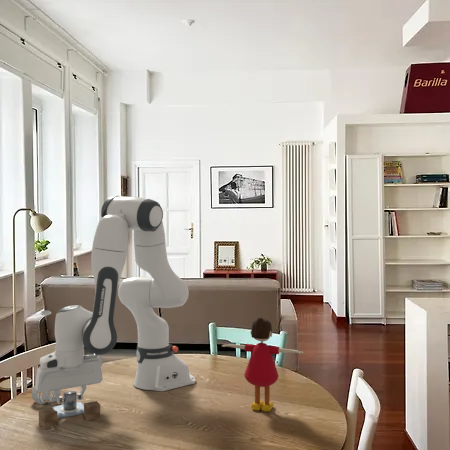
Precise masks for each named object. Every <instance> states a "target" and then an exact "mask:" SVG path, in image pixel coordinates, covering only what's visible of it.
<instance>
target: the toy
mask: <svg viewBox="0 0 450 450" xmlns="http://www.w3.org/2000/svg"><path fill="white" fill-rule="evenodd" d="M272 328H273V326H272V323H271V321H270V320H268V319H266V318H262V317H258V318H257V319H255V320H253V321H252V324H251V329H250V335H251V338H253V339H254V340H255V341H258V343H256V344H251V343H250V344H249V343H245V344H233V343H232V344H231V343H229V344H228V343H227V344H222V345H221V347H223V348H225V347H228V348H234V349H239V350H244V351H245V352H246V353H247V352H249V353H251V355H250V358H249V360H248V363H247V366H246V368H245V371H244V378H245V380H246V381H247V382H248V383H249V384H251V385H253V386H254V401H253V403H252V404H251V409H252V411H253V410H254V411H260V410H261V411H262V412H267V413H268V412H270V411H271V410H272V408H274V403H273V401H270V397H271V395H270V393H271V391H270V390H271V389H270V388H271V387H270V386H272V385H273V384H275V383H276V382H277V381H278V379H279V372H278V369H277V366H276V363H275V361H274V358H273V355H279V354H280V353H282V354H284V353H285V354H287V353H289V354H292V353H293V354H299V355H300V354H304V351H301V350H298V349H290V348H280V346H276V345H274V346H273V345H270V346H269V345H268V344H267V343H265V342H266V341H268V340H270V339H271V338H272V337H273V329H272ZM261 388H264V401H263V400H261Z"/></svg>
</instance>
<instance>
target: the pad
mask: <svg viewBox="0 0 450 450" xmlns="http://www.w3.org/2000/svg"><path fill="white" fill-rule="evenodd" d="M51 408H52V409H54V410H55V411H57V412H58V419H62V418H69V417H73V416H78V415H79V416H80V415H84V403H82V402H81V401H77V408H76V409H75V410H72V411H65V410H63V404H61V405H60V404H59V405H55V406H51Z"/></svg>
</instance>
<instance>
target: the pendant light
mask: <svg viewBox="0 0 450 450" xmlns="http://www.w3.org/2000/svg"><path fill="white" fill-rule="evenodd" d="M39 314H40V315H42V316H45V317H47V316H49V315H51V314H52V312H51V311H50V310H41V312H40V313H39ZM30 393H31V397H32V398H31V399H32V400H33V401H34V402H35V403H37V404H38V405H39V404H40V405H42V404H43V405H45V404H52V403H55V402H57V397H56V395H55V394H54V392H53V391H47V392H39V391H37V389H36V384H35V385H34V386H33V388H32V389H31V392H30ZM57 394H58V395H59V396H61V394H62V389H60V390H59V393H57ZM47 400H48V401H47Z"/></svg>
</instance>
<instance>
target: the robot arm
mask: <svg viewBox="0 0 450 450" xmlns="http://www.w3.org/2000/svg"><path fill="white" fill-rule="evenodd" d="M100 216H101V218H100V219H99V221H98V223H97V226H96V229H95V233H94V236H93V240H92V248H91V253H90V254H91V255H90V256H91V258H90V259H91V260H90V261H91V272H92V275H93V279H94V287H95V293H94V301H93V309H92V311H91V310H88V309H86V308H84V307H83V306H82V305H78V304H73V305H68V306H65V307H61V308H60V309H59V310H58V311H57V312H56V314H55V320H54V338H55V345H54V351H53V352H51V353H48V354H45V355H44V356H42V357H40V358H39V365H40V366H38V368H37V370H36V375H35V376H36V377H35V385H36V389H37V391H38V393H39V392H41V393H43V392H47V391H50V392H52V391H53V392H54V394H55V395H56V397H57V400H56V403H57V405H58V404H59V405H60V404H62V403H63V396H62V395H60V396H59V395H58V394H57V393H59V390H60V389H61V390H65V389H71V388H78V387H80V391H79V392H77V401H81V400H82V401H83V400H84V394H85V392H86V390H87V386H91V385H96V384H101V383H102V381H103V371H102V370H103V369H102V365H103V357H102V355H105V354H107V353H110V352H111V351H112V350H113V348H114V347H115V346H116V345H117V341H118V334H117V330H116V326H115V321H114V317H115V316H114V315H115V309H116V300H117V299H116V297H117V295H118V299H119V301H120V303H121V304H122V305H123V306H125V308H127V309H128V310H129V311H130V312H131V314H132V315H133V318H134V320H135V323H136V328H137V345H136V362H137V365H136V366H137V367H136V373H135V376H134V377H135V378H134V381H133V386H134V387H135V388H136V389H140V390H145V391H147V390H149V391H156V392H166V391H169V390H174V389H177V388H181V387H184V386H188V385H193V384H196V378H195V376H194V375H192V374H191V373H190V370H189V366H188V364H187V363H186V362H185V361H184V360H182V358H180V357H178V356H177V355H176V354H174V353H177V352H178V351H179V347H178V346H177V345H173V344H170V343H169V340H170V339H169V338H170V337H169V328H170V327H169V323H168V322H167V320H165V319H164V318H162V317H161V316H159V315H158V314H156V312H155V311H154V309H153V308H158V309H159V308H160V309H161V308H162V309H163V308H164V309H172V308H179V307H182V306H184V305H185V304H186V302H187V301H188V299H189V295H190V294H189V293H190V292H189V286H188V284H187V283H186V281H185V280H184V279H182V278H181V277H180V276H179V275H177V274H176V273H175V272H174V270H173V269H172V267H171V265H170V264H169V260H168V256H167V254H168V253H167V243H166V233H165V227H164V223H163V218H164V212H163V208H162V206H161V204H160V203H159V202H158V201H156V200H154V199H151V198H143V197H139V196H121V195H114V196H109V197H107V198H106V199H105V201H104V202H103V204H102V206H101V210H100ZM131 231H133V247H134V261H135V263H136V265H137V267H138V268H139V269H141V270H143V271H144V272H147V273H148V274H149V275H150V276H134V277H128V278H124V279H123V280H122V281H121V282H120V280H121V277H122V274H123V271H124V268H125V264H126V259H127V256H128V255H127V254H128V248H129V234H130V233H131ZM85 350H86V351H87V352H89V353H90V354H87V355H85Z"/></svg>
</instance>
